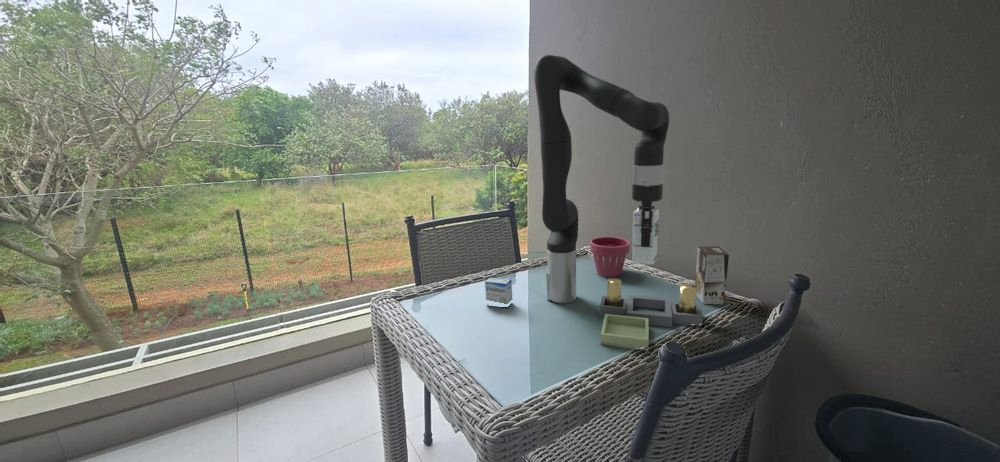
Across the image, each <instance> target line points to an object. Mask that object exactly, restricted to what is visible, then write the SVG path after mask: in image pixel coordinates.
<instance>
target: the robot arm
mask: <svg viewBox="0 0 1000 462" xmlns="http://www.w3.org/2000/svg"><path fill="white" fill-rule="evenodd" d="M533 80H534V87H535V94H536V95H535V96H536V101H537V107H538V117H539V118H538V119H539V121H538V123H539V131H540V132H539V133H540V135H539V136H540V138H539V139H540V156H541V173H542V174H541V175H542V185H543V187H542V188H543V189H542V190H543V191H542V210H541V211H542V213H541V215H542V217H541V218H542V221H543V224H544V226H545V227H546V229H548V231H550V235H549V237H548V238H547V241H546V251H547V252H546V254H547V272H546V276H545V277H546V300H547V299H549V300H548V301H551V300H552V301H551V302H553V301H554V302H553V303H556V302H557V304H569V303H573V302H575V301H576V300H577V242H578V238H579V211H578V208H577V206H576V204H575V202H574V201H572V200H571V199H567V182H568V178H569V172H570V169H571V164H572V156H573V152H572V151H573V150H572V149H573V148H572V146H573V145H572V143H573V142H572V135H571V130H570V127H569V125H568V123H567V120H566V117H565V115H564V112H563V110H562V107H561V106H562V105H561V91H565V92H569V93H572V94H576V95H578V96H580V97H582V98H584V99H585V100H586V101H587V102H589V103H590V104H591V105H593V107H596V109H597V108H598V109H599V110H600V111H603V112H604V113H607V114H609V115H611V116H613V117H616V118H618V119H619V120H620V121H622V122H623V123H625V124H626V125H628V126H630V127H631V128H633V129H635V130H638V131H639V132H640V138H639V141H638V142H637V143H636V145H635V147H634V162H633V171H632V187H631V188H632V189H631V190H632V192H631V198H632V201H635V202H640V205H638V208H639V211H642V212H641V214H642V216H641V215H640V219H639V224H640V225H641V231H640V232H641V246H642V247H649V246H650V234H651V232H652V230H651V227H652V224H653V220H652V214H653V212H655V208H656V207H655V205H652V203H653V202H660V201H661V200H662V199H663V195H664V193H663V191H664V176H665V175H664V172H665V171H664V155H665V154H664V147H665V143H666V139H667V134H668V130H669V124H670V113H669V110H668V108H667V107H666V106H665V105H664V104H663V103H661V102H658V101H657V102H653V101H647V100H645V99H644V98H643V99H642V98H640V97H637V96H636V95H635V94H634V93H633V92H631V91H629V90H627V89H626V88H623V87H621V86H619V85H616V84H613V83H611V82H608V81H606V80H604V79H601V78H599V77H596V76H594V75H592V74H590V73H588V72H587V71H585V70H583V69H582V68H581V67H579V66H577V65H576V64H575V63H573V62H572V61H571V60H569V59H568V58H566V57H564V56H560V55H554V54H545V55H542V56H541V57H539V58H538V60H537V61H536V64H535V66H534V71H533ZM652 211H653V212H652ZM643 225H649V228H643Z"/></svg>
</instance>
